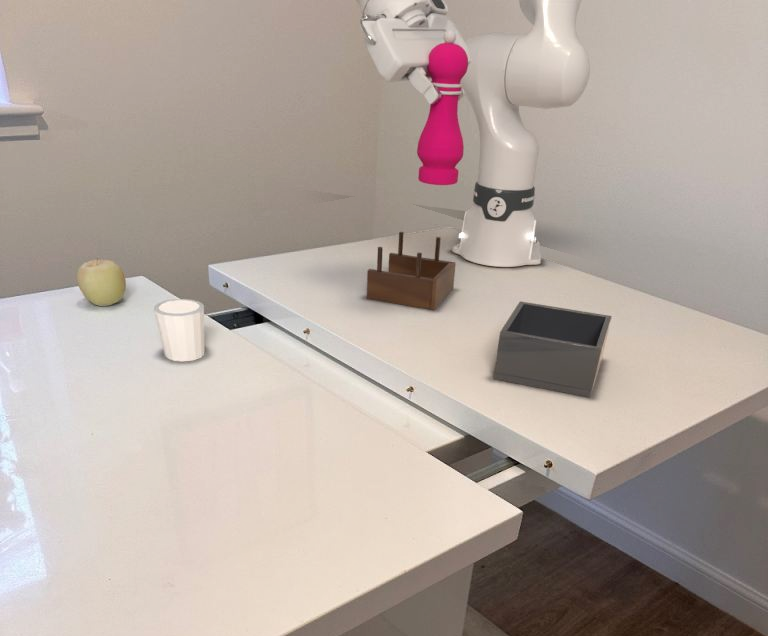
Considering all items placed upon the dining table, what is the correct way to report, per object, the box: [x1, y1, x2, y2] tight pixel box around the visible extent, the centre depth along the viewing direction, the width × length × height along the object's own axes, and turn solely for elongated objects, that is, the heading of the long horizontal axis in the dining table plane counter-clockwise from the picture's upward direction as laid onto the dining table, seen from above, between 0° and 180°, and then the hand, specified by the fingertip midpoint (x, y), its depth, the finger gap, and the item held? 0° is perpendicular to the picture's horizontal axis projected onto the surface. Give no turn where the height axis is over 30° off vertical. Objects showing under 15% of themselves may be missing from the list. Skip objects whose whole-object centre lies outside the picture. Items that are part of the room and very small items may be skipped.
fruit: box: [76, 254, 127, 307], centre depth 117 cm, size 8×7×8 cm
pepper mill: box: [416, 30, 468, 186], centre depth 108 cm, size 7×7×20 cm
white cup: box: [153, 298, 206, 362], centre depth 102 cm, size 7×7×7 cm
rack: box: [366, 231, 457, 311], centre depth 127 cm, size 12×12×9 cm
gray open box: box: [493, 301, 612, 398], centre depth 103 cm, size 14×14×7 cm
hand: (448, 99), depth 107 cm, fingers closed on pepper mill, 5 cm apart
